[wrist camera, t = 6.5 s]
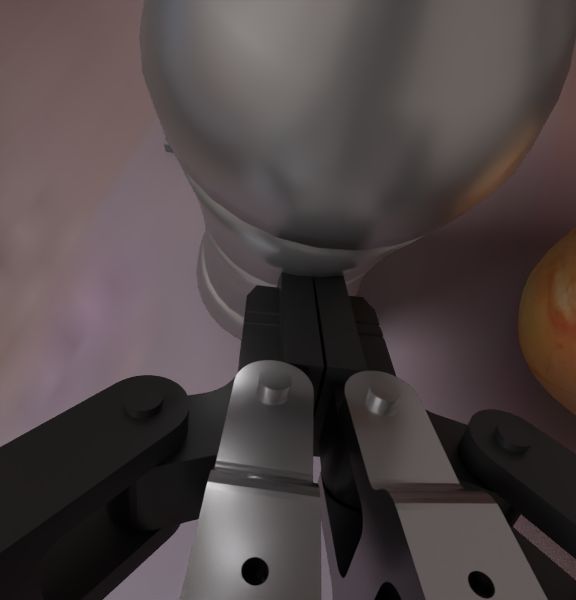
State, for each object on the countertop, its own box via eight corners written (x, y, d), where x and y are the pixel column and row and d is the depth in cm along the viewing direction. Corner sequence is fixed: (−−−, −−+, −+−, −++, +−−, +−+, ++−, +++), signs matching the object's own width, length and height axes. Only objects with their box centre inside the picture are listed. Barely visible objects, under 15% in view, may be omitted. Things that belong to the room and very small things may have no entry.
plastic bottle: (368, 318, 22) (1489, -429, 2) (234, 381, 20) (358, -205, 1) (307, 200, 23) (752, -988, 3) (176, 252, 21) (-320, -1274, 2)
